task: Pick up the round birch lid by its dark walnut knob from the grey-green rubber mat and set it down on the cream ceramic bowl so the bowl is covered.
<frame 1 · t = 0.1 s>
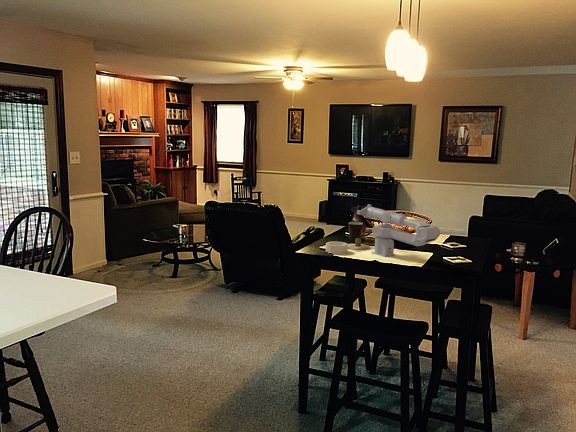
hand: (356, 208, 268), 22 cm above the table, tool horizontal, fingers open, 7 cm apart
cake: (357, 234, 311), on the table
bowl: (336, 252, 258), on the table
coffee mug: (356, 239, 292), on the table
mat: (357, 247, 269), on the table
lid: (357, 247, 269), resting on mat
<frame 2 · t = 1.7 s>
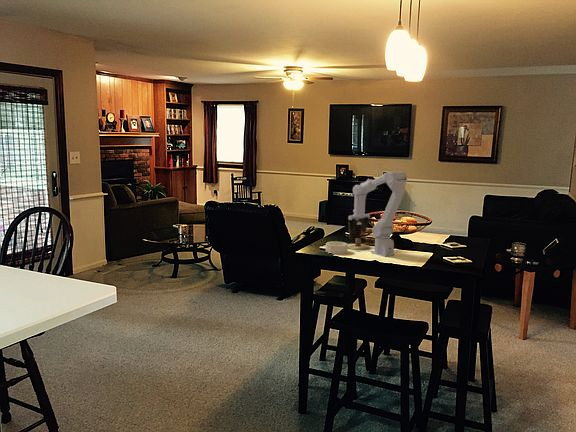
hand: (358, 231, 268), 9 cm above the table, tool pointing down, fingers open, 7 cm apart
nothing on the table moved.
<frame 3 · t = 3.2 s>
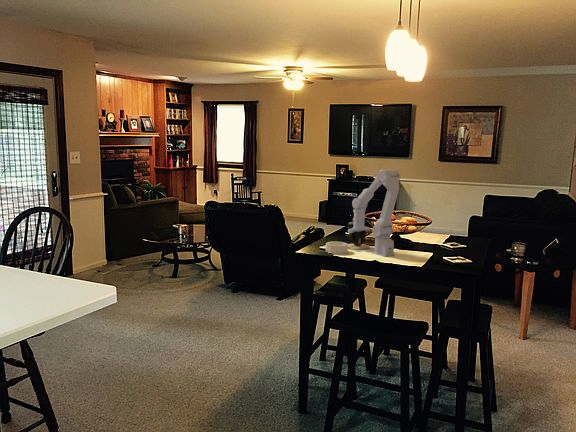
hand: (358, 244, 269), 2 cm above the table, tool pointing down, fingers closed on lid, 3 cm apart
lid: (357, 247, 269), resting on mat, touching gripper
everything else where it was.
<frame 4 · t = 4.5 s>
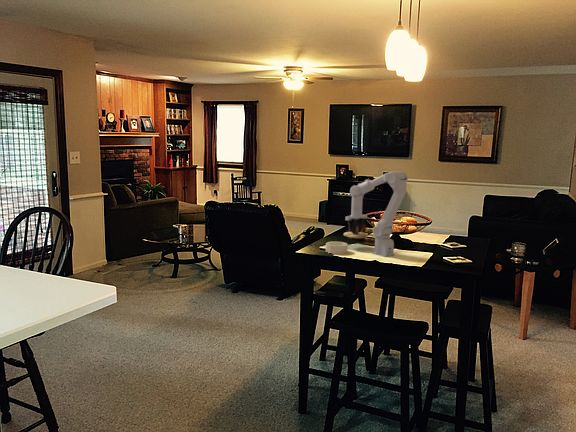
hand: (355, 232, 266), 9 cm above the table, tool pointing down, fingers closed on lid, 3 cm apart
lid: (355, 235, 267), point 7 cm above the table, touching gripper
everything else where it was.
when the fingers open (7 cm above the table, at t = 6.0 s): lid stays where it is, resting on bowl.
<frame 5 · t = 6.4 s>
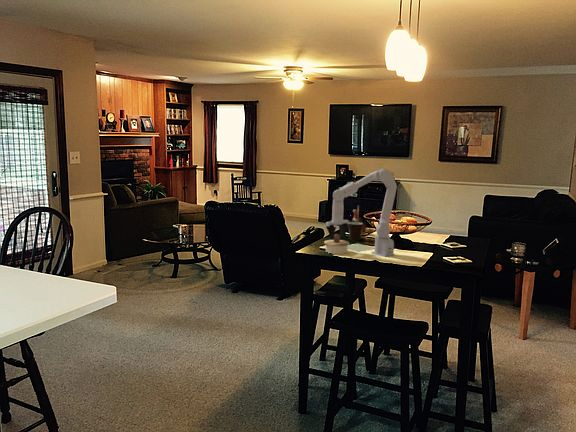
hand: (336, 238, 257), 7 cm above the table, tool pointing down, fingers open, 6 cm apart
lid: (336, 243, 258), point 4 cm above the table, touching bowl
everything else where it was.
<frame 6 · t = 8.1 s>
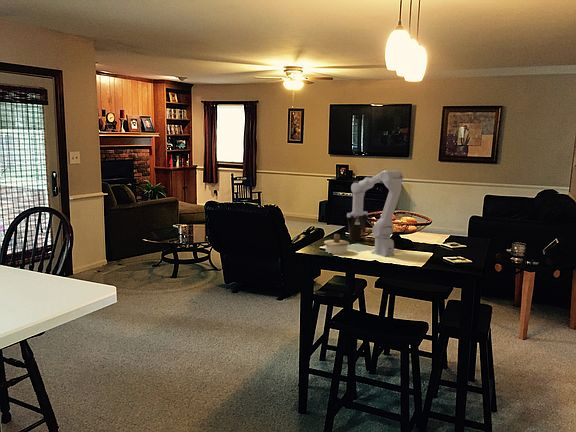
hand: (356, 229, 270), 10 cm above the table, tool pointing down, fingers open, 7 cm apart
nothing on the table moved.
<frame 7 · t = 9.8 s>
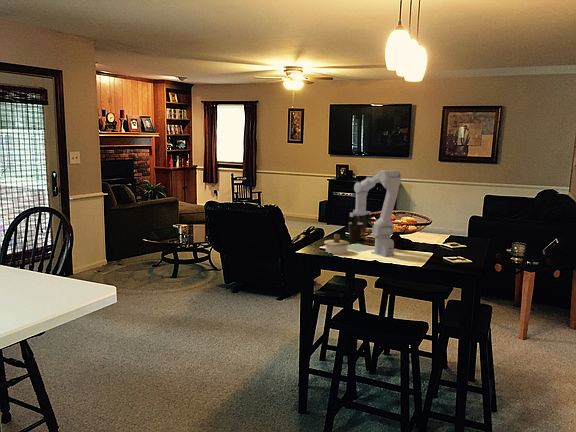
hand: (359, 228, 272), 10 cm above the table, tool pointing down, fingers open, 7 cm apart
nothing on the table moved.
at the end: lid 0.1 cm from the bowl (horizontally); lid point 4.5 cm above the table; lid tilted 0° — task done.
